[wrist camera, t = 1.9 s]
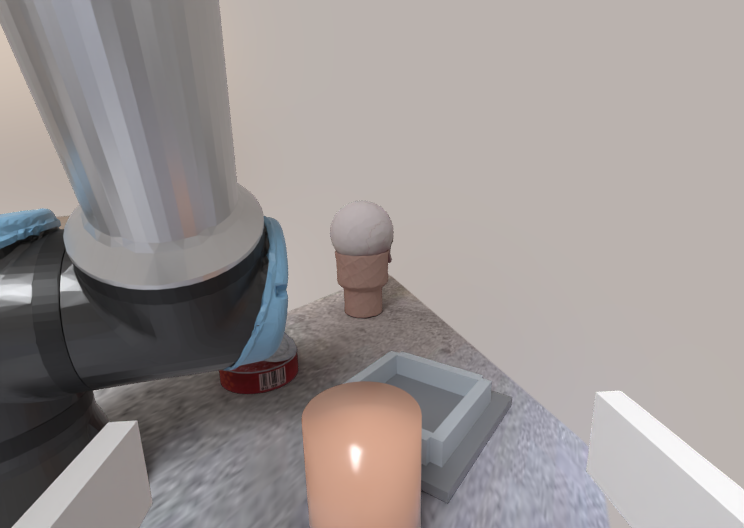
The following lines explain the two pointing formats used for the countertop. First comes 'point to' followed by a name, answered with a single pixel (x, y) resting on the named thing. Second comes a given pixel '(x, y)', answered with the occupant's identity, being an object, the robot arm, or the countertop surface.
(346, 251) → the ice cream cone
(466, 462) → the grey rectangular tray
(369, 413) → the peach round cylinder
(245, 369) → the canned food
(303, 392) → the countertop surface
